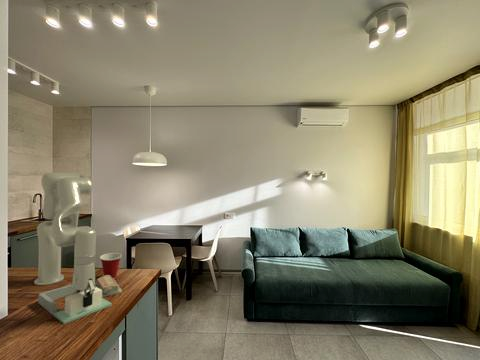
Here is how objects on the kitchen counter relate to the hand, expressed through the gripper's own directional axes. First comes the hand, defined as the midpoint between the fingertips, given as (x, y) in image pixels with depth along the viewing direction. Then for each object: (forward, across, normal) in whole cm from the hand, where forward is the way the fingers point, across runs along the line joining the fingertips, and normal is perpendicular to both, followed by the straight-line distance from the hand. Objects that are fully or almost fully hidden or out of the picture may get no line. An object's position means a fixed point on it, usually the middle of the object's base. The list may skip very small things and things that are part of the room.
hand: (84, 303), depth 104 cm
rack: (+3, -14, 0) cm, 14 cm away
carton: (+2, 0, 0) cm, 2 cm away
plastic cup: (+3, -27, +25) cm, 37 cm away
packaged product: (+4, -14, +16) cm, 21 cm away
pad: (+3, 0, 0) cm, 3 cm away
